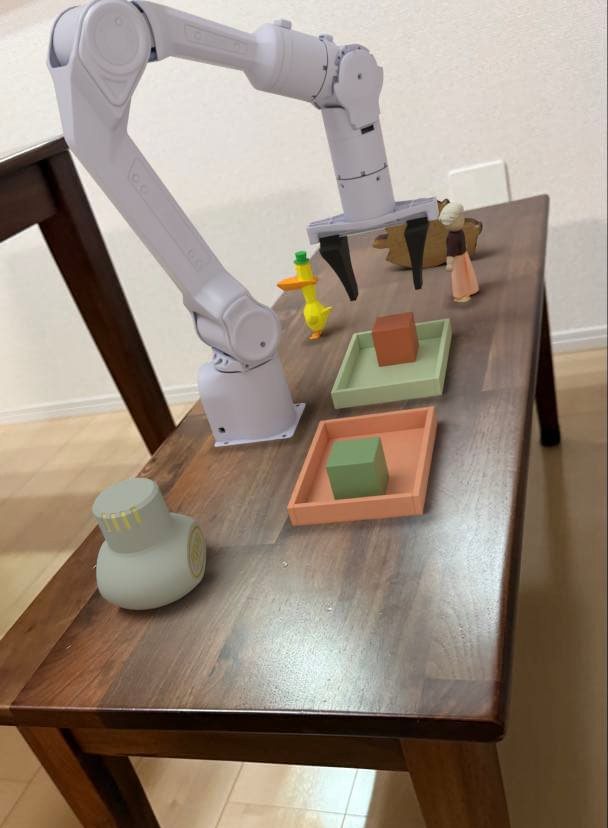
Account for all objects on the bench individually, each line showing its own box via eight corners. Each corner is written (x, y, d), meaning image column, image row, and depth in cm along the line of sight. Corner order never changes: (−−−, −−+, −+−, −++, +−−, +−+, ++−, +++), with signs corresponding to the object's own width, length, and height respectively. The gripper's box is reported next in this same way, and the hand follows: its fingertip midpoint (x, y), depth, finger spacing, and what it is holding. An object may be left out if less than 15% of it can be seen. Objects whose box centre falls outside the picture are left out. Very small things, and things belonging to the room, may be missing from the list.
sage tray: (335, 413, 96) (330, 392, 94) (357, 352, 108) (353, 333, 107) (442, 399, 92) (439, 377, 90) (452, 337, 104) (449, 317, 103)
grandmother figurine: (478, 306, 110) (465, 208, 103) (449, 311, 111) (433, 214, 104) (480, 285, 116) (467, 191, 109) (452, 290, 117) (438, 197, 110)
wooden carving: (487, 250, 127) (478, 181, 121) (485, 260, 124) (476, 190, 118) (381, 268, 132) (367, 204, 127) (376, 279, 129) (362, 213, 123)
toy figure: (289, 348, 115) (265, 262, 109) (297, 336, 118) (274, 252, 111) (336, 342, 113) (314, 254, 106) (342, 331, 115) (321, 244, 109)
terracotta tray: (293, 530, 78) (286, 508, 77) (325, 441, 91) (319, 420, 89) (423, 519, 75) (418, 495, 73) (438, 428, 87) (434, 405, 86)
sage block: (336, 507, 79) (325, 466, 76) (344, 480, 82) (333, 441, 80) (383, 502, 77) (373, 461, 75) (389, 476, 81) (380, 435, 78)
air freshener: (133, 558, 82) (93, 471, 76) (214, 542, 80) (179, 453, 75) (108, 633, 73) (61, 541, 67) (199, 617, 71) (158, 522, 66)
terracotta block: (378, 367, 101) (371, 332, 99) (383, 351, 105) (376, 317, 102) (415, 361, 100) (408, 326, 97) (419, 345, 103) (412, 311, 101)
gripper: (432, 146, 91) (451, 268, 99) (305, 175, 96) (332, 290, 103) (426, 163, 86) (446, 291, 93) (292, 193, 90) (322, 312, 98)
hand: (386, 292), depth 98 cm, fingers open, 7 cm apart
